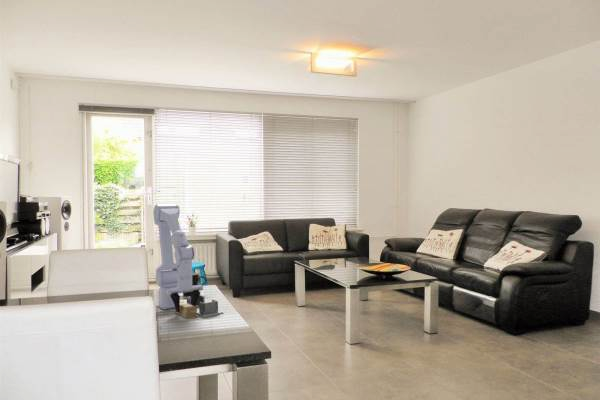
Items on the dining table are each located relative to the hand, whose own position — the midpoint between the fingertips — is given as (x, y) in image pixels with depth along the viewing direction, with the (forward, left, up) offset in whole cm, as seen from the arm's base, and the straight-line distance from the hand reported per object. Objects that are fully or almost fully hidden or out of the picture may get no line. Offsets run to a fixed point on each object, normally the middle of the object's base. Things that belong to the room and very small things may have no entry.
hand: (185, 310), depth 185 cm
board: (0, +8, -1) cm, 8 cm away
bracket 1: (-6, +7, -1) cm, 9 cm away
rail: (0, 0, -2) cm, 2 cm away
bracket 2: (+6, +7, -1) cm, 9 cm away
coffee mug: (-36, +18, -2) cm, 40 cm away
